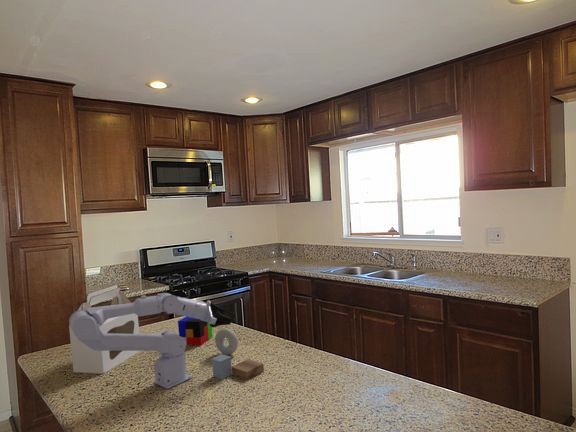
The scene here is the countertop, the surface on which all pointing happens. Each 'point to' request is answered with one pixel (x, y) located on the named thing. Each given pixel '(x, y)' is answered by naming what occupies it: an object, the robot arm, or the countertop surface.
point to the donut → (231, 338)
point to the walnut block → (247, 369)
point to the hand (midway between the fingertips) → (226, 316)
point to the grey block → (221, 366)
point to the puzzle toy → (194, 331)
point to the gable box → (126, 324)
